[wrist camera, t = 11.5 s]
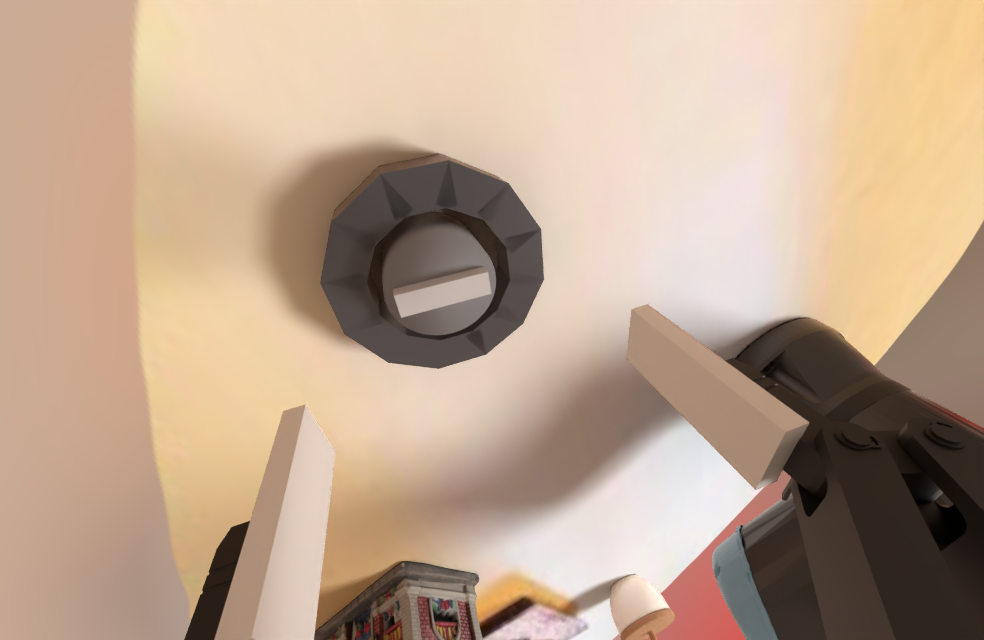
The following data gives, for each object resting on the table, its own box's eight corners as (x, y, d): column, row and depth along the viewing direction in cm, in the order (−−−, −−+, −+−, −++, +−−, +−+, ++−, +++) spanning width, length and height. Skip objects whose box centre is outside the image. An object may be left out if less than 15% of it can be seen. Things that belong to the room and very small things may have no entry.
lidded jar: (594, 602, 70) (621, 663, 63) (609, 576, 65) (640, 639, 57) (637, 587, 74) (668, 643, 66) (655, 562, 68) (691, 620, 61)
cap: (470, 202, 22) (492, 225, 18) (484, 290, 25) (505, 325, 21) (366, 224, 20) (366, 254, 17) (397, 313, 24) (402, 355, 20)
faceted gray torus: (519, 138, 20) (535, 142, 18) (534, 318, 28) (547, 336, 26) (288, 183, 18) (278, 194, 16) (370, 366, 26) (370, 389, 24)
